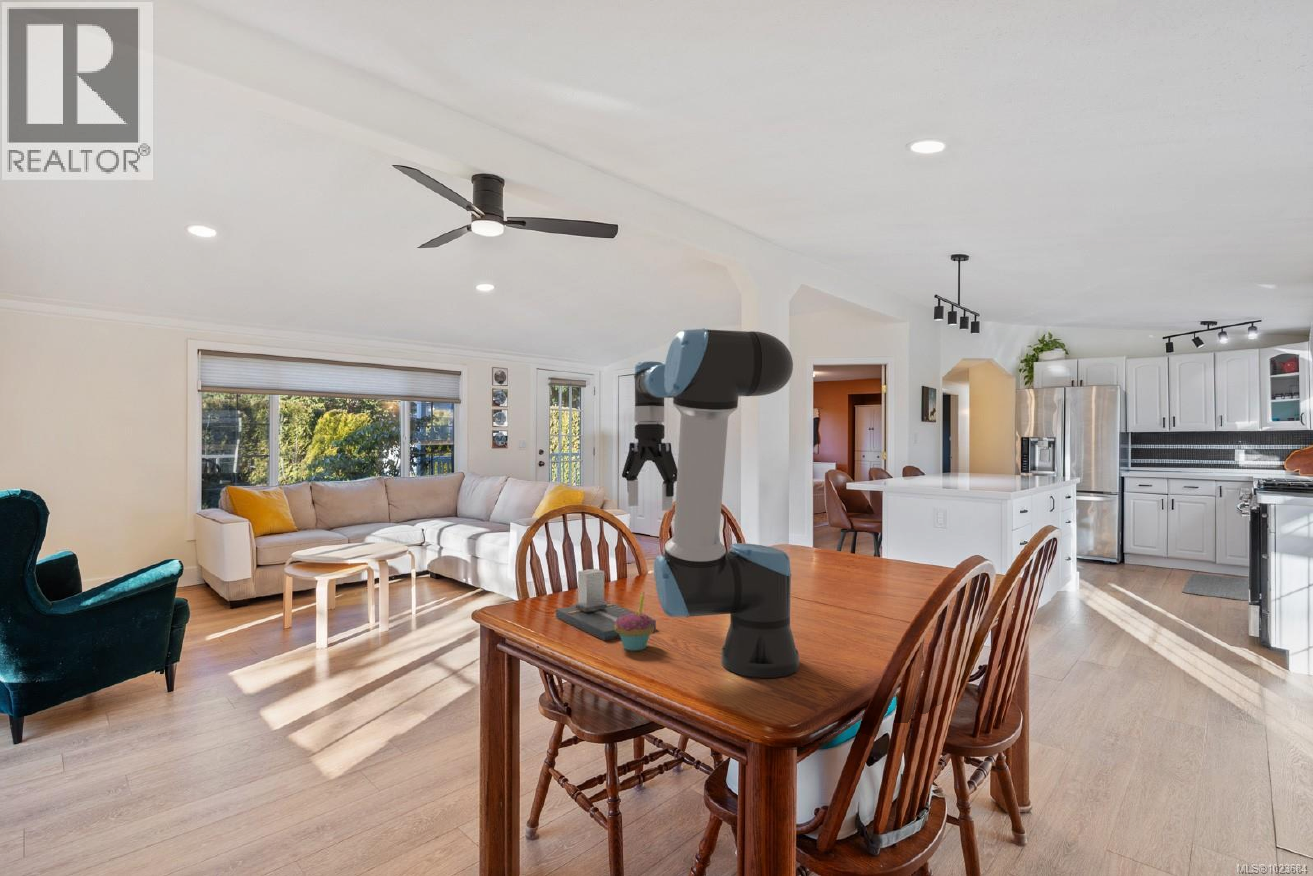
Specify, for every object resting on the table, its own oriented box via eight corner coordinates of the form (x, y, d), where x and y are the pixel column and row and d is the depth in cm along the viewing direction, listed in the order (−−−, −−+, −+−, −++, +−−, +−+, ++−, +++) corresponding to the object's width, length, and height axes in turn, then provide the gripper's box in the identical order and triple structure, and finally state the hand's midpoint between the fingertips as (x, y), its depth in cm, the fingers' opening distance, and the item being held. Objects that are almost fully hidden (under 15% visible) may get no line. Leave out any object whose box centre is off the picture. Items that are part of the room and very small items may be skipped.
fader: (607, 608, 157) (607, 571, 157) (585, 612, 153) (585, 574, 153) (596, 603, 161) (596, 567, 161) (575, 607, 157) (575, 570, 157)
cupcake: (659, 642, 138) (659, 587, 138) (648, 655, 130) (648, 597, 130) (621, 639, 141) (621, 584, 141) (608, 651, 133) (608, 594, 132)
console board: (655, 629, 148) (655, 619, 148) (604, 641, 139) (604, 631, 139) (604, 607, 165) (604, 599, 165) (556, 617, 157) (556, 608, 157)
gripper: (694, 422, 154) (694, 510, 154) (631, 424, 173) (631, 503, 173) (670, 422, 149) (671, 513, 149) (608, 424, 168) (608, 504, 168)
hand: (649, 508), depth 161 cm, fingers open, 13 cm apart
